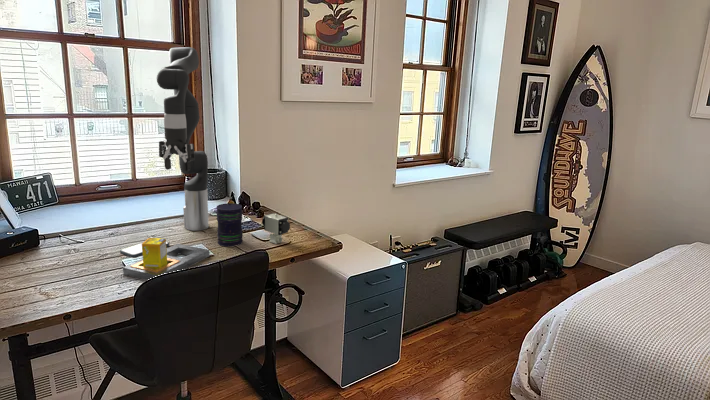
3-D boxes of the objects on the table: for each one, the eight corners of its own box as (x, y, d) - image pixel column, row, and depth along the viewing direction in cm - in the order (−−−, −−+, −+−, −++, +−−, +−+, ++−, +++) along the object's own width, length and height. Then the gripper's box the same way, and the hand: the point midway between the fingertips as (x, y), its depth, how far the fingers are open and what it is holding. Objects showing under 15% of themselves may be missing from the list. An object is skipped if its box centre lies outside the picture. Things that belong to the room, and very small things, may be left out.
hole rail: (123, 274, 159) (122, 266, 158) (177, 249, 182) (177, 242, 182) (158, 282, 154) (157, 274, 153) (209, 256, 177) (209, 249, 177)
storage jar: (241, 246, 189) (241, 209, 185) (216, 246, 187) (214, 210, 183) (243, 238, 198) (242, 203, 195) (218, 238, 197) (217, 203, 193)
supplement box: (150, 267, 165) (148, 237, 163) (168, 268, 165) (166, 238, 163) (143, 274, 160) (141, 243, 157) (161, 275, 160) (159, 244, 157)
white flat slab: (133, 259, 173) (171, 246, 186) (133, 255, 173) (170, 242, 186) (118, 254, 177) (156, 242, 191) (118, 250, 177) (156, 238, 190)
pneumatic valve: (281, 247, 190) (282, 218, 187) (261, 240, 197) (261, 212, 194) (291, 243, 194) (292, 215, 191) (271, 237, 201) (271, 209, 198)
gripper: (198, 127, 175) (200, 171, 179) (167, 123, 179) (169, 166, 184) (184, 129, 168) (186, 174, 172) (152, 125, 173) (154, 170, 177)
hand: (177, 170), depth 178 cm, fingers open, 8 cm apart
